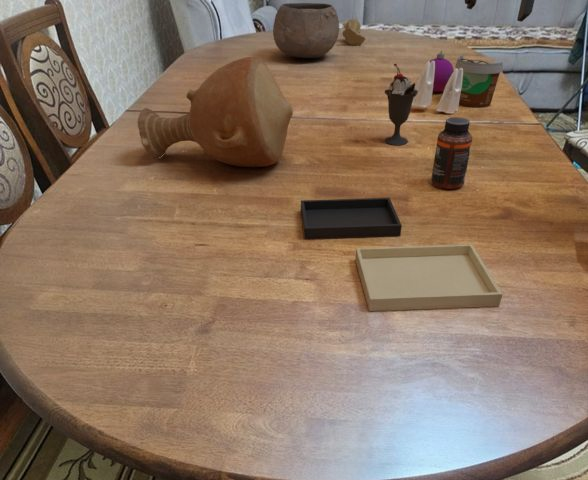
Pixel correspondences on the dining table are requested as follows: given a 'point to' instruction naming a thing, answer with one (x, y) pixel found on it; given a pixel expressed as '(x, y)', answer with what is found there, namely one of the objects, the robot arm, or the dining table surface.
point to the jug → (227, 117)
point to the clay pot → (306, 29)
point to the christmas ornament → (441, 72)
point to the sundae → (399, 105)
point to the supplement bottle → (452, 154)
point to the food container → (478, 82)
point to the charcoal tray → (349, 218)
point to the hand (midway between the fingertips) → (496, 13)
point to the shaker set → (425, 89)
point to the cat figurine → (353, 32)
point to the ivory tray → (425, 278)
